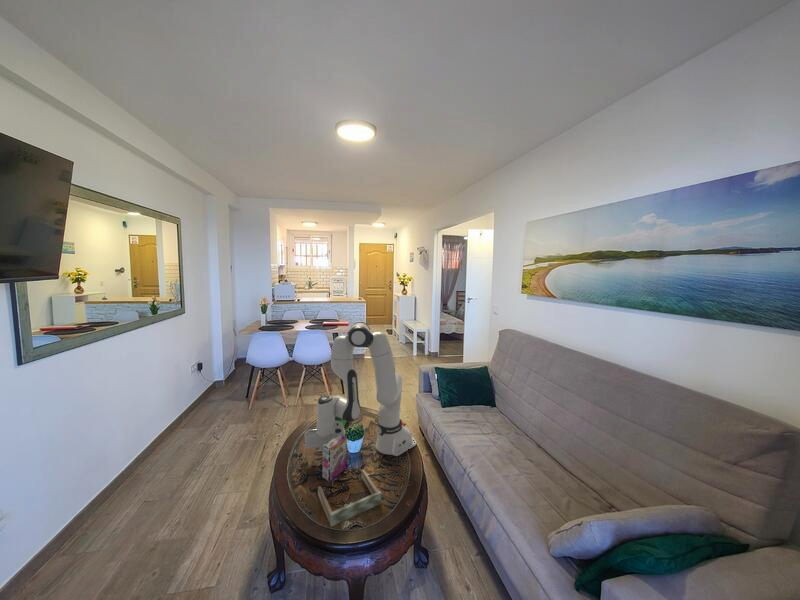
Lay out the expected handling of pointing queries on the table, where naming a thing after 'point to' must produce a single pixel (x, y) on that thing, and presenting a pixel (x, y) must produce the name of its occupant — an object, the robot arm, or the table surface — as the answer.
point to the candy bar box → (334, 457)
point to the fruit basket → (340, 420)
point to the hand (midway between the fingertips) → (326, 453)
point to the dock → (354, 507)
